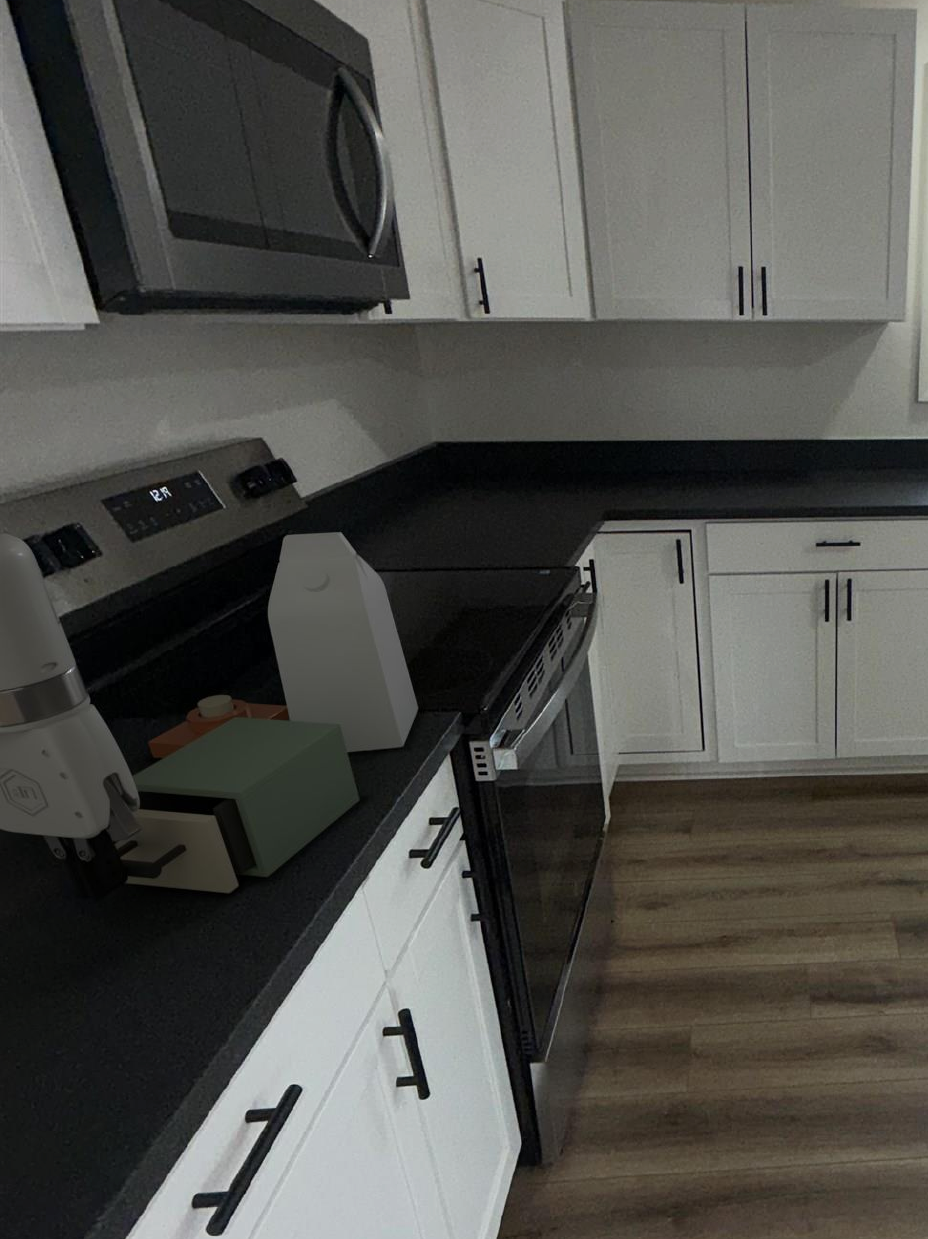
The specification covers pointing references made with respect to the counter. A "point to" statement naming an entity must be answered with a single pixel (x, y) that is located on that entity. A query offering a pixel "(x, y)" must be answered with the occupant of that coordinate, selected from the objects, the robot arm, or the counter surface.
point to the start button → (215, 706)
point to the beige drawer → (187, 843)
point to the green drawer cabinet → (265, 781)
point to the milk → (339, 643)
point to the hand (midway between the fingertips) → (105, 889)
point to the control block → (211, 725)
